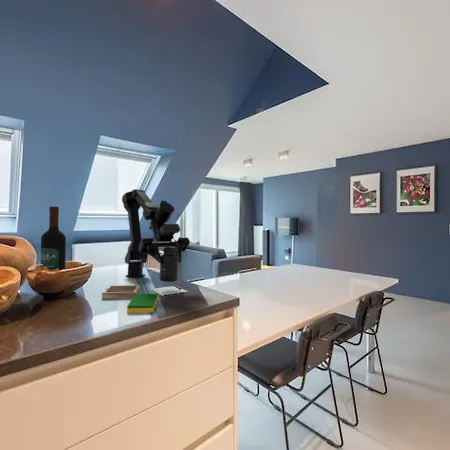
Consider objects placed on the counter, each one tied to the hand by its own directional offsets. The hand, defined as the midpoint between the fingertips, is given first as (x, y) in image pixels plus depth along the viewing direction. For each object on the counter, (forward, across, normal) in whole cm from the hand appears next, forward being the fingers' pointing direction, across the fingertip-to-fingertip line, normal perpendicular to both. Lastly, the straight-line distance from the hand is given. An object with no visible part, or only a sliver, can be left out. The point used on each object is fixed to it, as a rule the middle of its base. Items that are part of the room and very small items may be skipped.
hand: (171, 262), depth 104 cm
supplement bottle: (+4, 0, +6) cm, 7 cm away
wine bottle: (-7, -35, +23) cm, 43 cm away
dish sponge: (+16, -14, 0) cm, 21 cm away
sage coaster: (+7, 0, +8) cm, 11 cm away
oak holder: (+4, -16, +12) cm, 20 cm away
